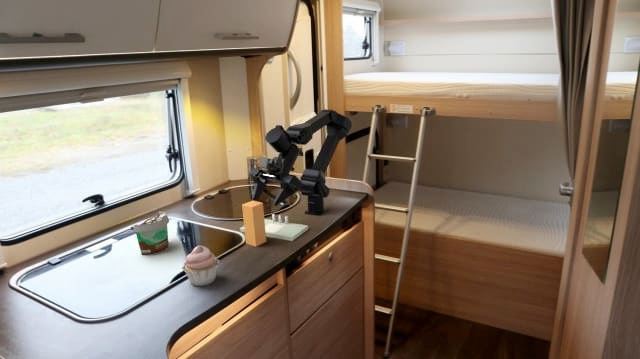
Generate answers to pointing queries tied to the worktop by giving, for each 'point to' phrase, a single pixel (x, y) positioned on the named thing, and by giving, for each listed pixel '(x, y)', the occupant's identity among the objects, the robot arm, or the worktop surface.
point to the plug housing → (254, 223)
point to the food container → (153, 234)
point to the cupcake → (201, 266)
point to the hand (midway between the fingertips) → (263, 203)
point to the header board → (282, 228)
